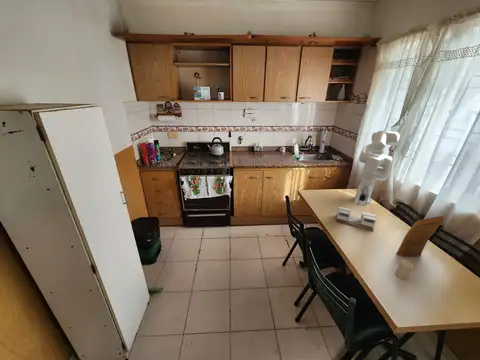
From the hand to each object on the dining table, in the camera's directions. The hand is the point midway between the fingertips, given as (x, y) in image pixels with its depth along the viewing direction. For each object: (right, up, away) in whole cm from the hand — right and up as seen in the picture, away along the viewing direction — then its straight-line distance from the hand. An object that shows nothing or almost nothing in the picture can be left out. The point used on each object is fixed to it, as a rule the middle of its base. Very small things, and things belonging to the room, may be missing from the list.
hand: (361, 197), depth 146 cm
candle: (+1, -39, -35) cm, 52 cm away
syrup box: (0, -5, +2) cm, 5 cm away
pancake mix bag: (+18, -33, -20) cm, 42 cm away
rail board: (-1, -19, +9) cm, 21 cm away
